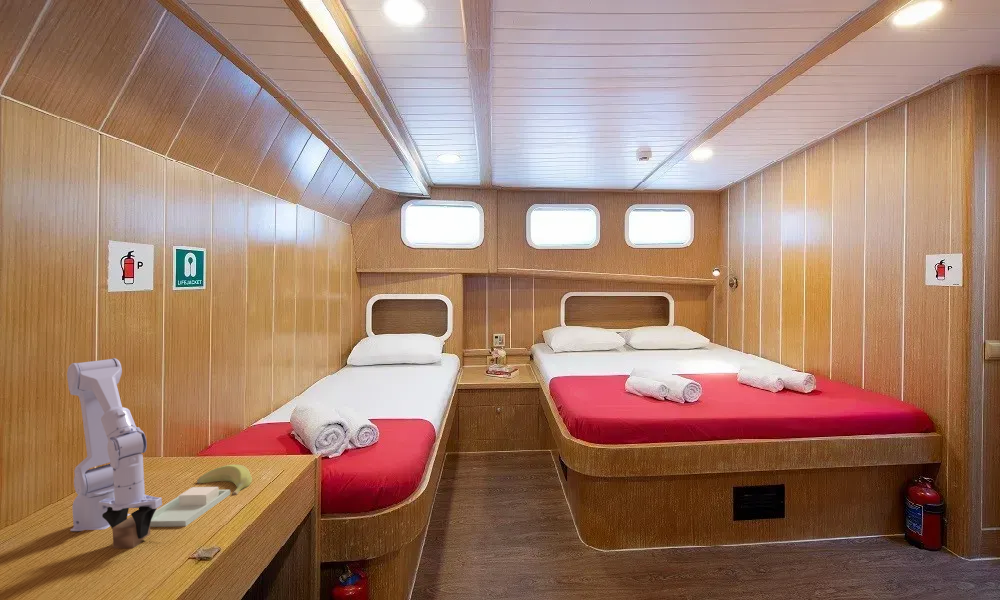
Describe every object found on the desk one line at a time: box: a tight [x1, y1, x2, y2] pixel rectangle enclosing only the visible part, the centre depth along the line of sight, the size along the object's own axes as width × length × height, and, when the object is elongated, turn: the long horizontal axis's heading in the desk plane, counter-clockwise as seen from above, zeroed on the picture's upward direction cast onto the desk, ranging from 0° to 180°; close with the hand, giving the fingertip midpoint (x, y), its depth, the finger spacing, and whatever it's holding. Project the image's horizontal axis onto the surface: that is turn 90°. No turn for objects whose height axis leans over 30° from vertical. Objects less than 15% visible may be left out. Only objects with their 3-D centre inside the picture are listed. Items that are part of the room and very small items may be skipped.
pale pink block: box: [178, 486, 220, 506], centre depth 129 cm, size 8×5×3 cm, turn 88°
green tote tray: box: [150, 489, 231, 528], centre depth 124 cm, size 13×18×2 cm
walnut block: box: [111, 516, 151, 549], centre depth 109 cm, size 5×5×5 cm
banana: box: [196, 464, 253, 496], centre depth 139 cm, size 14×6×20 cm
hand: (132, 536), depth 109 cm, fingers closed on walnut block, 5 cm apart
